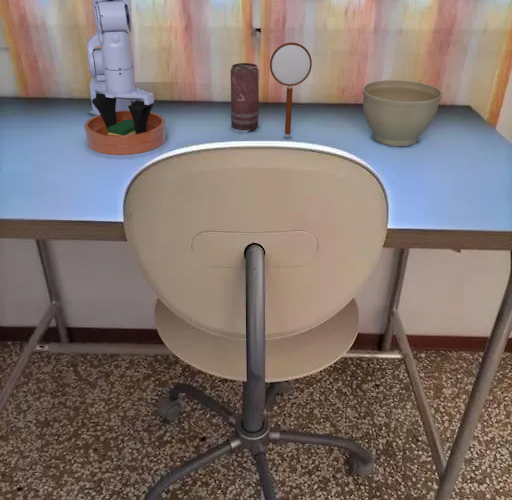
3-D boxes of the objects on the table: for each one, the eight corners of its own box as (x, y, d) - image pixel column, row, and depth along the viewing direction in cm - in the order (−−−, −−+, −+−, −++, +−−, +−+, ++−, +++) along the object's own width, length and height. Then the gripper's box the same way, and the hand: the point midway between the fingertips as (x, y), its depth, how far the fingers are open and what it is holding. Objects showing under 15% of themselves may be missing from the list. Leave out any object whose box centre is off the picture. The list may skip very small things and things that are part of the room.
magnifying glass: (306, 136, 120) (312, 41, 109) (307, 139, 119) (313, 43, 108) (267, 136, 120) (270, 41, 109) (268, 139, 118) (270, 43, 108)
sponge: (125, 146, 112) (123, 131, 110) (109, 143, 114) (107, 127, 112) (144, 137, 117) (142, 121, 115) (128, 133, 118) (127, 118, 117)
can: (256, 133, 121) (256, 69, 114) (228, 131, 122) (227, 68, 115) (261, 124, 126) (262, 63, 119) (234, 122, 127) (234, 61, 120)
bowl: (71, 145, 114) (67, 124, 112) (130, 124, 125) (128, 105, 123) (124, 164, 106) (121, 142, 103) (182, 140, 117) (180, 120, 115)
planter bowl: (369, 122, 128) (374, 76, 122) (438, 133, 122) (448, 85, 117) (348, 144, 116) (353, 94, 110) (424, 158, 110) (434, 105, 104)
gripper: (76, 66, 107) (86, 133, 114) (135, 76, 101) (142, 145, 109) (100, 59, 112) (108, 123, 119) (157, 68, 107) (163, 134, 114)
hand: (126, 133), depth 114 cm, fingers open, 7 cm apart
